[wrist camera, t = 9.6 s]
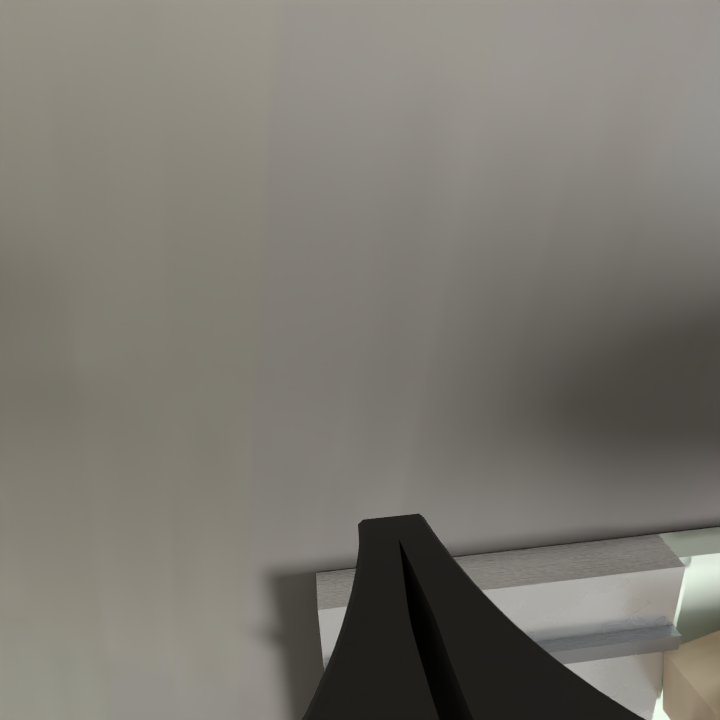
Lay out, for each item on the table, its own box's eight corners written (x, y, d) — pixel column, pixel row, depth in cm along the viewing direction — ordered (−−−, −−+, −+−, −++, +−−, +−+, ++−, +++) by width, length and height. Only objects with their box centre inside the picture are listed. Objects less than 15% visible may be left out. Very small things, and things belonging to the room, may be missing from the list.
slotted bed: (657, 533, 26) (694, 576, 24) (618, 744, 32) (644, 796, 29) (316, 573, 25) (318, 622, 23) (337, 784, 31) (340, 841, 28)
